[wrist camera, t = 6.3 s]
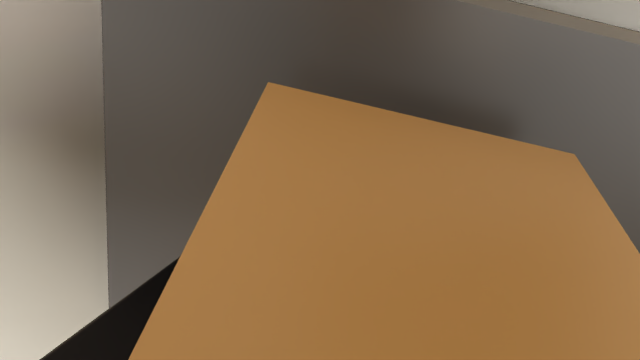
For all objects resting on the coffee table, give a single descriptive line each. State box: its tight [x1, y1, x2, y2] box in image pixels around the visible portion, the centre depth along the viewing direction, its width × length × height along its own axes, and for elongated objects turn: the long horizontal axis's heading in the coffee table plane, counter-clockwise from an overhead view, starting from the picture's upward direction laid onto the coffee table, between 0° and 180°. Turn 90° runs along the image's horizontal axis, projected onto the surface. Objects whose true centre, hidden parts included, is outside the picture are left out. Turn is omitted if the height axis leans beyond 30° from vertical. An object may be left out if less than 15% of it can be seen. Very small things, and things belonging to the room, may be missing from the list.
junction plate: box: [102, 0, 640, 308], centre depth 13 cm, size 14×12×1 cm
